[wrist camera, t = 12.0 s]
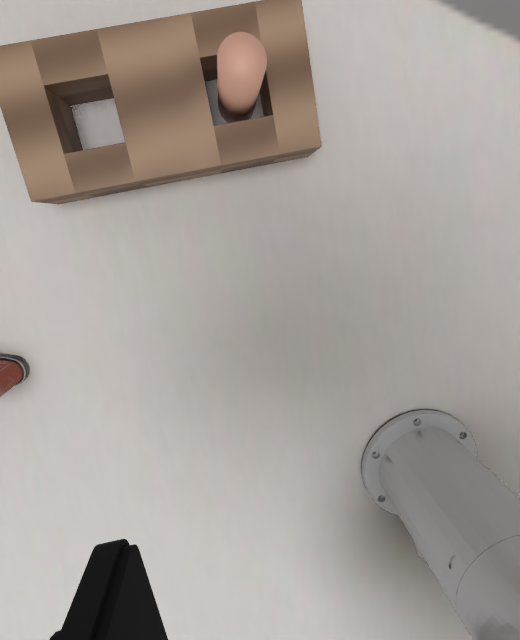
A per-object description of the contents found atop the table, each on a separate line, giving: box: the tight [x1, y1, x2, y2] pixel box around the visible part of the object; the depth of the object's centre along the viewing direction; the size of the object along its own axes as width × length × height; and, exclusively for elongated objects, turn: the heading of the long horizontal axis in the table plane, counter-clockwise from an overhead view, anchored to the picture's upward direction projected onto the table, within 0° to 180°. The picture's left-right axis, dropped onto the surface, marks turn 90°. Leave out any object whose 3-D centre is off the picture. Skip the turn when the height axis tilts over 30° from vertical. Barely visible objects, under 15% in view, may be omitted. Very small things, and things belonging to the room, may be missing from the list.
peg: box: [217, 32, 267, 123], centre depth 29 cm, size 3×3×10 cm
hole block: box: [0, 0, 321, 204], centre depth 31 cm, size 10×22×5 cm, turn 101°
